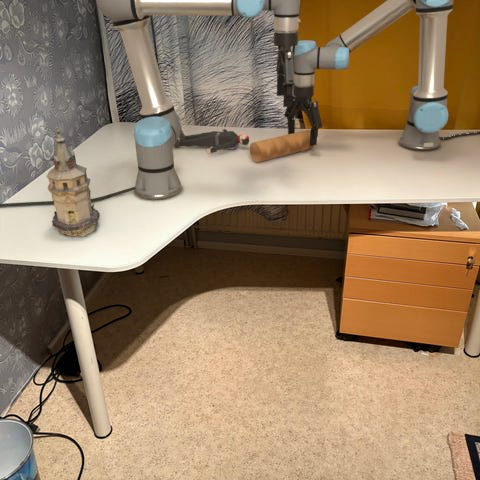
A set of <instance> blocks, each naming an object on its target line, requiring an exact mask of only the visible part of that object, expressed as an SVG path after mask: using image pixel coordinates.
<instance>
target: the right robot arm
mask: <svg viewBox="0 0 480 480" xmlns="http://www.w3.org/2000/svg"><path fill="white" fill-rule="evenodd" d="M412 10H415V14H416V15H417V16H418V17H419V41H418V43H419V44H418V45H419V46H418V70H417V71H418V73H417V74H418V76H417V85H415V86H412V88H411V92H410V95H409V96H410V97H409V98H410V99H409V105H408V112H407V120H406V125H405V127H404V129H403V131H402V133H401V135H400V138H399V141H398V142H399V143H398V144H399V145H400V146H401V147H403V148H405V149H407V150H409V151H410V150H411V151H415V152H416V151H418V152H431V151H435V150H437V149H439V147H440V145H441V144H440V143H441V141H440V140H443V141H444V140H451V139H454V138H457V137H465V136H473V135H479V134H480V130H478V131H476V132H477V133H474V132H475V131H471V132H470V131H469V132H468V133H469V134H466V133H467V132H463V133H456V134H452V135H453V136H452V135H450V136H451V137H449V136H445V137H444V136H439V131H441V130H442V129H444V128H445V126H446V125H447V123H448V121H449V115H450V114H449V110H448V97H449V96H448V93H449V92H448V90H446V88H445V87H444V86H445V85H444V84H445V69H446V52H447V51H446V50H447V49H446V48H447V32H448V31H447V29H448V15H449V14H450V13H451V12H452V11H453V10H454V0H386V1H384V2H383V3H382V4H380V5H379V6H377V7H376V8H374V9H373V10H372V11H371V12H370V13H368V14H366V15H365V16H363V18H361V19H359V21H357V22H356V23H354V24H353V25H352V26H350V27H349V28H347V29H346V30H345V31H343V32H342V33H340V35H338V36H336V37H335V38H334V39H330V40H329V41H328V42H327V43H326V44H325V46H317V43H316V41H314V40H308V39H307V40H306V39H305V40H304V39H303V40H298V44H297V45H296V46H294V54H293V63H294V82H295V84H294V85H293V99H292V107H285V110H284V114H283V116H284V117H283V118H286V120H287V135H288V134H292V133H296V131H295V130H296V128H295V127H296V118H295V117H296V116H297V114H298V113H299V111H302V112H304V114H305V115H306V117H307V119H308V122H309V125H310V126H311V128H310V130H311V131H310V146H313V145H315V146H316V145H317V144H318V136H319V129H322V128H323V122H322V118H321V114H320V110H319V102H318V101H317V100H315V101H313V99H312V98H313V97H314V94H315V86H314V85H315V73H316V71H315V70H337V71H340V70H347V69H348V68H349V61H350V54H351V53H352V52H353V51H355V50H356V49H358V48H359V47H360V46H361V45H363V44H365V43H366V42H367V41H369V40H371V38H373V37H375V36H376V35H378V34H379V33H380V32H382V31H383V30H384V29H386V28H388V27H389V26H391V25H392V24H393V23H394V22H396V21H397V20H400V19H401V18H402V17H403V16H404V15H406V14H408V13H409V12H411V11H412ZM459 134H461V135H459ZM454 135H455V136H454ZM443 138H444V139H443Z"/></svg>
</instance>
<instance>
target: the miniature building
mask: <svg viewBox="0 0 480 480" xmlns="http://www.w3.org/2000/svg"><path fill="white" fill-rule="evenodd" d="M56 134H57V136H56V138H55V140H54V141H55V142H56V147H55V154H54V156H52V157H51V161H52V162H53V165H54V167H53V168H51V169H50V170H49V171H48V173H47V174H46V178H47V179H48V182H49V184H48V186H47V190H48V191H49V193H50V194H51V201H54V204H53V205H54V209H55V211H53V217H52V220H51V223H52V225H51V227H54V228H56V229H58V230H59V231H60V234H63V235H64V234H65V235H66V236H69V237H77V236H80V237H83V236H87V235H88V234H90V233H93V232H94V231H95V229H96V226H97V225H98V223H99V220H100V216H101V213H100V212H99V210H98V209H96V208H95V204H92V202H91V199H92V197H91V192H92V191H91V188H90V184H91V178H89V177H88V174H87V167H85V166H84V165H83V166H82V165H80V164H77V160H76V154H75V151H74V150H70V149H69V147H68V145H67V143H66V138H65V137H64V136H63V135H61V130H60V129H56Z"/></svg>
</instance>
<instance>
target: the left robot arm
mask: <svg viewBox="0 0 480 480" xmlns="http://www.w3.org/2000/svg"><path fill="white" fill-rule="evenodd" d="M300 1H301V0H95V3H96V5H97V7H98V9H99V11H100V12H101V14H103V15H104V17H106V18H108V19H110V20H111V22H112V23H111V24H112V26H113V29H116V30H117V31H119V33H120V36H121V40H122V44H123V46H124V50H125V53H126V57H127V59H128V63H129V66H130V71H131V73H132V76H133V79H134V82H135V86H136V90H137V93H138V97H139V100H140V103H141V109H140V111H139V116H140V118H141V119H139V120H138V121H136V123H135V124H134V127H133V138H134V144H135V154H136V161H137V175H136V179H135V184H134V186H132V187H128V188H126V189H123V190H119V191H117V192H116V191H115V192H113V193H108V194H105V195H102V196H99V197H94V198H91V203H93V202H98V201H102V200H105V199H109V198H113V197H116V196H119V195H122V194H125V193H128V192H129V193H130V192H132V191H133V192H134V193H135V195H136V196H137V197H138V198H141V199H143V200H148V201H161V200H168V199H171V198H174V197H176V196H178V195H179V194H180V193H181V192H182V182H181V180H180V177H179V176H178V173H177V171H176V169H175V161H174V160H175V159H174V158H175V157H174V145H175V143H176V141H177V140H178V139H179V136H180V134H181V130H183V126H182V125H183V124H182V120H181V118H180V115H179V114H178V113H177V112H176V109H175V106H174V104H173V102H172V101H170V100H168V97H167V93H166V90H165V85H164V82H163V79H162V75H161V72H160V68H159V65H158V60H157V56H156V53H155V49H154V46H153V42H152V38H151V35H150V32H149V28H148V27H149V26H148V23H149V22H150V20H151V16H183V17H184V16H185V17H186V16H188V17H189V16H191V17H195V16H196V17H197V16H199V17H202V16H203V17H204V16H206V17H207V16H208V17H213V16H214V17H215V16H216V17H220V16H221V17H244V18H247V19H252V18H256V17H258V16H259V15H261V13H262V12H263V11H264V12H265V11H270V12H272V11H273V30H274V33H273V45H274V46H276V47H277V58H276V67H275V68H276V69H275V72H276V75H277V76H276V96H277V97H283V101H282V103H283V108H287V107H292V99H293V95H294V94H293V93H294V86H295V85H294V84H295V82H294V54H295V52H294V51H293V50H292V47H295V46H296V45H297V44H298V41H299V33H298V30H299V24H300V23H301V21H302V20H301V19H300V18H299V17H300ZM42 205H44V206H45V205H54V201H53V200H45V201H25V202H23V201H22V202H8V203H7V202H6V203H0V208H4V207H22V206H42Z"/></svg>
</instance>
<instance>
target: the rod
mask: <svg viewBox="0 0 480 480" xmlns="http://www.w3.org/2000/svg"><path fill="white" fill-rule="evenodd" d="M310 131H311V129H305V130H300V131H297V132H296V131H295V133H292V134H288V133H287V134H283V135H280V136H275V137H271V138H267V139H262V140H257V141H254V142H251V143H250V145H249V156H250V158H251V160H252V161H253V162H254V163H261V162H264V161H265V162H266V161H268V160H272V159H276V158H280V157H284V156H287V155H291V154H296V153H298V152H299V153H300V152H304V151H307V150H308V151H309V150H311V149H314V148H315V146H316V145H313V146H310Z"/></svg>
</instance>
